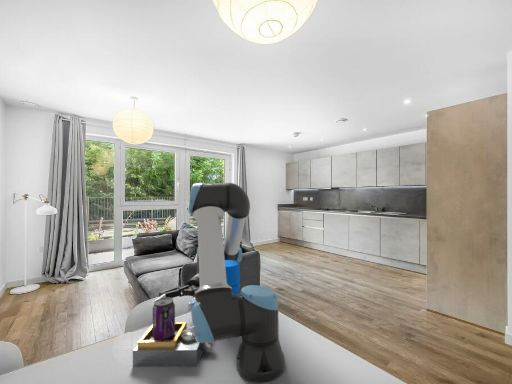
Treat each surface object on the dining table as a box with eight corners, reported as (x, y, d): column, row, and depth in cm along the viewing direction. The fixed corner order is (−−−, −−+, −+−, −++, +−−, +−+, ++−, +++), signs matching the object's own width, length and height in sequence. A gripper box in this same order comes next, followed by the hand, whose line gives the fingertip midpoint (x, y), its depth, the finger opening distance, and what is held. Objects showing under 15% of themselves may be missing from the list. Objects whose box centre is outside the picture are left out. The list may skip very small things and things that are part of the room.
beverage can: (171, 342, 79) (171, 305, 79) (149, 343, 78) (149, 306, 79) (177, 330, 86) (177, 296, 86) (157, 331, 85) (156, 297, 86)
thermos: (226, 315, 107) (225, 258, 108) (245, 322, 101) (244, 262, 101) (208, 325, 98) (207, 264, 99) (228, 334, 92) (227, 268, 93)
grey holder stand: (217, 339, 89) (217, 320, 89) (209, 366, 75) (209, 343, 75) (152, 340, 89) (152, 321, 89) (132, 366, 75) (132, 344, 75)
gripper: (223, 295, 106) (204, 319, 86) (171, 291, 111) (141, 313, 90) (222, 277, 107) (204, 297, 86) (171, 275, 111) (141, 293, 90)
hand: (171, 306), depth 88 cm, fingers open, 13 cm apart
